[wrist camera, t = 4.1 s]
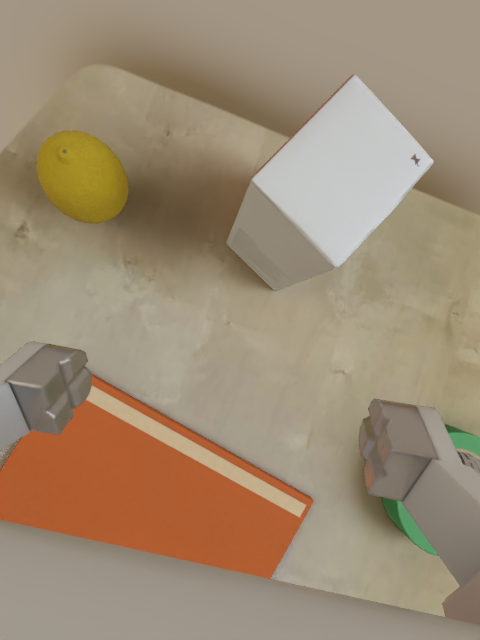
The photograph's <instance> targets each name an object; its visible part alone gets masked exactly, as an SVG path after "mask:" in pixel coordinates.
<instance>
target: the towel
mask: <svg viewBox="0 0 480 640" xmlns="http://www.w3.org/2000/svg"><path fill="white" fill-rule="evenodd" d="M91 376H92V387H91V390H90V393H89V395H88V397H87V398H86V400H85V401H84V403H83V404H81V405H79V406H78V407H76V408H74V409H73V413H74V416H73V418H72V419H71V420H70V422H69V423H68V424H67V426H66V427H65V428H64V430H63V431H62V432H61V434H60V435H56V434H50V433H44V432H37V431H31V430H30V432H29V433H28V434H26V435H25V436H23V437H22V438H21V439H20V441H19V442H18V444H17V445H16V447H15V448H14V450H13V452H12V453H11V455H10V456H9V458H8V459H7V461H6V462H5V464H4V465H3V467H2V468H1V470H0V520H4V521H9V522H13V523H18V524H23V525H27V526H32V527H36V528H41V529H45V530H50V531H55V532H59V533H64V534H68V535H73V536H77V537H82V538H86V539H91V540H96V541H100V542H105V543H109V544H114V545H118V546H123V547H127V548H132V549H137V550H141V551H146V552H150V553H155V554H159V555H164V556H168V557H173V558H178V559H182V560H187V561H191V562H196V563H200V564H205V565H209V566H214V567H218V568H223V569H228V570H232V571H237V572H241V573H246V574H250V575H255V576H259V577H264V578H269V579H270V578H271V577H272V575H273V573H274V571H275V570H276V568H277V566H278V564H279V562H280V561H281V559H282V557H283V555H284V553H285V552H286V550H287V548H288V546H289V544H290V543H291V541H292V539H293V537H294V535H295V534H296V532H297V530H298V528H299V527H300V525H301V523H302V521H303V519H304V518H305V516H306V514H307V512H308V510H309V509H310V507H311V505H312V503H313V500H312V498H311V497H309V496H307V495H306V494H304V493H302V492H300V491H298V490H297V489H295V488H293V487H291V486H290V485H288V484H286V483H284V482H282V481H281V480H279V479H277V478H275V477H274V476H272V475H270V474H268V473H267V472H265V471H263V470H261V469H259V468H258V467H256V466H254V465H252V464H251V463H249V462H247V461H245V460H243V459H242V458H240V457H238V456H236V455H235V454H233V453H231V452H229V451H228V450H226V449H224V448H222V447H220V446H219V445H217V444H215V443H213V442H212V441H210V440H208V439H206V438H204V437H203V436H201V435H199V434H197V433H196V432H194V431H192V430H190V429H188V428H187V427H185V426H183V425H181V424H180V423H178V422H176V421H174V420H173V419H171V418H169V417H167V416H165V415H164V414H162V413H160V412H158V411H157V410H155V409H153V408H151V407H149V406H148V405H146V404H144V403H142V402H141V401H139V400H137V399H135V398H134V397H132V396H130V395H128V394H126V393H125V392H123V391H121V390H119V389H118V388H116V387H114V386H112V385H110V384H109V383H107V382H105V381H103V380H102V379H100V378H98V377H96V376H94V375H93V374H91Z"/></svg>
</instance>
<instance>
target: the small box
mask: <svg viewBox="0 0 480 640" xmlns="http://www.w3.org/2000/svg"><path fill="white" fill-rule="evenodd" d="M432 164H433V160H432V159H431V158H430V157H429V156H428V154H427V153H426V152H425V151H424V149H423V148H422V147H421V146H420V145H419V143H418V142H417V141H416V140H415V139H414V138H413V137H412V136H411V134H410V133H409V132H408V131H407V130H406V129H405V128H404V127H403V126H402V125H401V124H400V122H399V121H398V120H397V119H396V118H395V117H394V116H393V115H392V114H391V113H390V112H389V110H388V109H387V108H386V107H385V106H384V105H383V104H382V103H381V102H380V101H379V99H378V98H377V97H376V96H375V95H374V94H373V93H372V92H371V91H370V90H369V89H368V88H367V87H366V86H365V85H364V84H363V82H362V81H361V80H360V79H359V78H358V77H357V76H356V75H352V76H351V77H350V78H349V79H348V80H347V81H346V82H345V83H344V84H343V85H342V86H341V87H340V88H339V89H338V90H337V91H336V92H335V93H334V94H333V95H332V96H331V97H330V98H329V99H328V100H327V101H326V102H325V103H324V104H323V105H322V106H321V107H320V108H319V109H318V110H317V111H316V112H315V113H314V114H313V115H312V116H311V117H310V118H309V119H308V120H307V122H305V124H303V126H302V127H301V128H300V129H299V130H298V131H296V133H295V134H294V135H293V136H292V137H291V138H290V139H289V140H288V141H287V142H286V143H285V144H284V145H283V146H282V147H281V148H280V149H279V150H278V151H277V152H276V153H275V154H274V155H273V156H272V157H271V158H270V159H269V160H268V161H267V162H266V163H265V164H264V165H263V166H262V167H261V168H260V170H259V171H258V172H257V173H256V174H255V175H254V176H253V177H252V178H251V180H250V183H249V186H248V189H247V191H246V194H245V196H244V199H243V201H242V204H241V206H240V209H239V211H238V214H237V216H236V219H235V221H234V224H233V226H232V229H231V232H230V234H229V236H228V239H227V241H226V244H227V245H228V246H229V247H230V248H231V249H232V250H233V251H234V252H235V253H236V254H237V255H238V256H239V257H240V258H241V259H242V260H243V261H244V262H245V263H246V264H247V265H248V266H249V267H250V268H251V269H252V270H253V271H255V272H256V273H257V274H258V275H259V276H260V277H261V278H262V279H263V280H264V281H265V282H266V283H267V284H268V285H269V286H270V287H271V288H272V289H273V290H274V291H278V290H280V289H283V288H285V287H288V286H291V285H293V284H296V283H299V282H301V281H304V280H307V279H309V278H312V277H315V276H317V275H320V274H323V273H325V272H328V271H330V270H333V269H336V268H338V267H339V266H340V265H341V264H342V263H343V262H344V261H345V260H346V259H347V258H348V257H349V256H350V255H351V254H352V253H353V252H354V251H355V250H356V249H357V248H358V247H359V246H360V244H361V243H362V242H363V241H364V240H365V239H366V238H367V237H368V236H369V235H370V234H371V233H372V232H373V230H374V229H375V228H376V227H377V226H378V225H379V224H380V223H381V222H382V221H383V220H384V219H385V218H386V217H387V216H388V215H389V214H390V213H391V212H392V211H393V209H394V208H395V207H396V206H397V205H398V204H399V203H400V201H401V200H402V199H403V197H404V196H405V195H406V194H407V192H408V191H409V190H410V189H411V188H412V187H413V185H414V184H415V183H416V182H417V181H418V180H419V179H420V178H421V176H422V175H423V174H424V173H425V172H426V171H427V170H428V168H429V167H430V166H431V165H432Z"/></svg>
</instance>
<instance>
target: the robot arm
mask: <svg viewBox="0 0 480 640" xmlns="http://www.w3.org/2000/svg"><path fill="white" fill-rule="evenodd" d="M87 362H88V359H87V356H86V353H85V352H84V351H82V350H78V349H73V348H68V347H63V346H58V345H52V344H45V343H40V342H35V341H32V342H29V343H26V344H25V345H24V346H23V347H22V348H20V349H19V350H18V351H17V352H16V353H14V354H13V355H12V356H11V357H10V358H9V359H7V360H6V361H5V362H4V363H3V364H1V365H0V451H1V450H3V449H4V448H6V447H7V446H9V445H11V444H12V443H14V442H15V441H17V440H18V439H20V438H22V437H23V436H25V435H26V434H28V433H29V432H30V430H31V431H37V432H44V433H50V434H56V435H60V434H61V432H62V431H63V430H64V428H65V427H66V426H67V424H68V423H69V422H70V420H71V419H72V418H73V416H74V413H73V409H74V408H76V407H78V406H79V405H81V404H83V403H84V401H85V400H86V398H87V397H88V395H89V393H90V390H91V387H92V376H91V372H90V371H89V370H88V369H87V368H86V367H85V364H86V363H87ZM368 410H369V414H370V416H369V417H367V418H365V419H363V421H362V424H361V427H360V432H359V449H360V454H361V455H362V457H363V458H364V459H365V460H366V461H367V463H366V465H365V467H364V469H363V472H364V477H365V483H366V488H367V493H368V494H369V495H374V496H378V497H383V498H388V499H392V500H397V501H401V502H402V504H403V506H404V507H405V509H406V510H407V511H408V513H409V514H410V516H411V517H412V519H413V520H414V521H415V523H416V524H417V526H418V527H419V528H420V530H421V531H422V533H423V534H424V535H425V537H426V538H427V540H428V541H429V542H430V544H431V545H432V547H433V548H434V550H435V551H436V552H437V554H438V555H439V557H440V558H441V559H442V561H443V562H444V564H445V565H446V566H447V568H448V569H449V571H450V572H451V574H452V575H453V576H454V578H455V579H456V581H457V582H458V583H459V585H460V587H459V588H458V589H457V590H455V591H454V592H453V593H452V594H451V595H449V596H448V597H447V598H446V599H445V600H444V602H443V603H442V605H443V608H444V612H445V615H446V617H441V616H437V615H432V614H428V613H423V612H419V611H414V610H410V609H405V608H401V607H396V606H391V605H387V604H382V603H378V602H373V601H369V600H364V599H360V598H355V597H350V596H346V595H341V594H337V593H332V592H328V591H323V590H319V589H314V588H309V587H305V586H300V585H296V584H291V583H287V582H282V581H278V580H273V579H269V578H264V577H259V576H255V575H250V574H246V573H241V572H237V571H232V570H228V569H223V568H218V567H214V566H209V565H205V564H200V563H196V562H191V561H187V560H182V559H178V558H173V557H168V556H164V555H159V554H155V553H150V552H146V551H141V550H137V549H132V548H127V547H123V546H118V545H114V544H109V543H105V542H100V541H96V540H91V539H86V538H82V537H77V536H73V535H68V534H64V533H59V532H55V531H50V530H45V529H41V528H36V527H32V526H27V525H23V524H18V523H13V522H9V521H4V520H0V640H480V474H478V473H477V472H476V471H475V470H474V469H473V468H472V467H471V466H469V465H464V464H463V463H462V461H461V459H460V457H459V455H458V453H457V450H456V448H455V446H454V444H453V442H452V440H451V438H450V436H449V434H448V431H447V429H446V427H445V425H444V423H443V421H442V419H441V417H440V415H439V412H438V411H437V410H436V409H435V408H432V407H426V406H419V405H411V404H405V403H399V402H393V401H386V400H380V399H374V400H373V401H372V402H371V403H370V405H369V408H368Z"/></svg>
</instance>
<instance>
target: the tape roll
mask: <svg viewBox="0 0 480 640" xmlns="http://www.w3.org/2000/svg"><path fill="white" fill-rule="evenodd" d="M444 425H445V424H444ZM445 427H446V429H447V431H448V434H449V436H450V438H451V440H452V442H453V444H454V446H455V448H456V450H457V451H458V452H459V453H460V454H461V456H462V458H463V459H464V462H465V464H466V465H469V466H471V467H472V468H473V469H474V470H475V471H476V472H477V473H478V474H480V438H478V437H477V436H474V435H472V434H470V433H467V432H464V431H462V430H459V429H457V428H454V427H452V426H449V425H445ZM382 502H383V504H384V507H385V510H386V512H387V514H388V515H389V517H390V518H391V520H392V521H393V522H394V523H395V525H396V526H397V527H398V528H399V529H400V530H401V531H402V532H403V533H404V534H405V535H406V536H407V537H408V538H409V539H410V540H411V541H412V542H413V543H414V544H416V545H417V546H418V547H419V548H421V549H422V550H424V551H426V552H428V553H430V554H433V555H436V556H439V555H438V554H437V552H436V551H435V550H434V548H433V547H432V545H431V544H430V542H429V541H428V540H427V538H426V537H425V535H424V534H423V533H422V531H421V530H420V528H419V527H418V526H417V524H416V523H415V521H414V520H413V519H412V517H411V516H410V514H409V513H408V511H407V510H406V509H405V507H404V506H403V504H402V502H401V501H397V500H392V499H388V498H383V497H382Z"/></svg>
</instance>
